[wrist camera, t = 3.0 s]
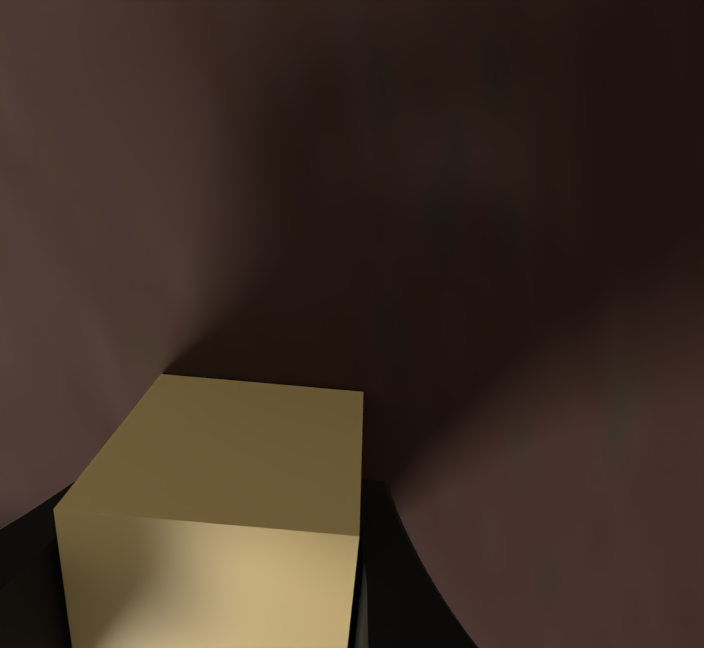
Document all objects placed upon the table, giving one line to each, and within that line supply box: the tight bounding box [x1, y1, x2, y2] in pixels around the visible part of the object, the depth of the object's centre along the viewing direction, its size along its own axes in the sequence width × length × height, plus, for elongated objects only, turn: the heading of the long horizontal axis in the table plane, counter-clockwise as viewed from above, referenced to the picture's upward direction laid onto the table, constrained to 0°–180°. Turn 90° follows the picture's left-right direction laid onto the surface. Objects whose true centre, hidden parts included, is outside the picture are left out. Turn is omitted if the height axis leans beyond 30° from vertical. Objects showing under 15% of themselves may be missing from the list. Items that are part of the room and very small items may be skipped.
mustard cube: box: [53, 374, 363, 648], centre depth 11 cm, size 4×4×4 cm
